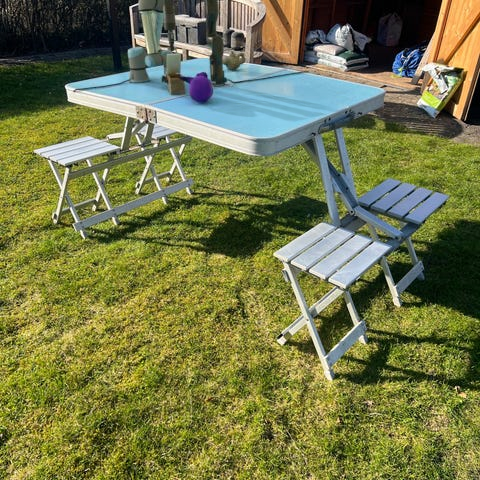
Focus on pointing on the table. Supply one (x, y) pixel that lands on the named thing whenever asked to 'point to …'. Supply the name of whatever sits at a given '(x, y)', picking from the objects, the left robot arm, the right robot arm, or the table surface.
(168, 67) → the lid
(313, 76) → the table surface
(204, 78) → the toy
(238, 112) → the table surface
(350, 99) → the table surface
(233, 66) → the teapot
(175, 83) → the chest
